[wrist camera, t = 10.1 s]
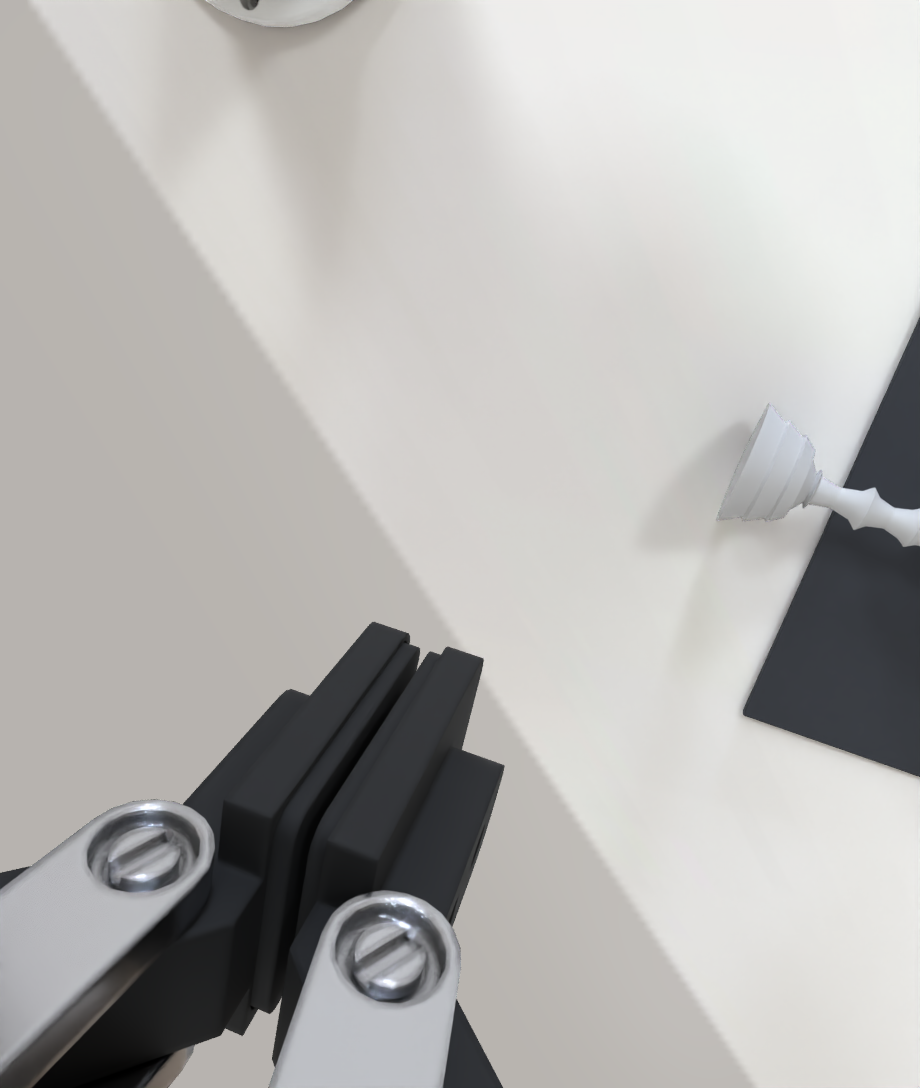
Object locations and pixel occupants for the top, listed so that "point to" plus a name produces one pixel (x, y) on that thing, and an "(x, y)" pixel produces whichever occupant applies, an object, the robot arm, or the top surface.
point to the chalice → (802, 485)
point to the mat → (859, 608)
